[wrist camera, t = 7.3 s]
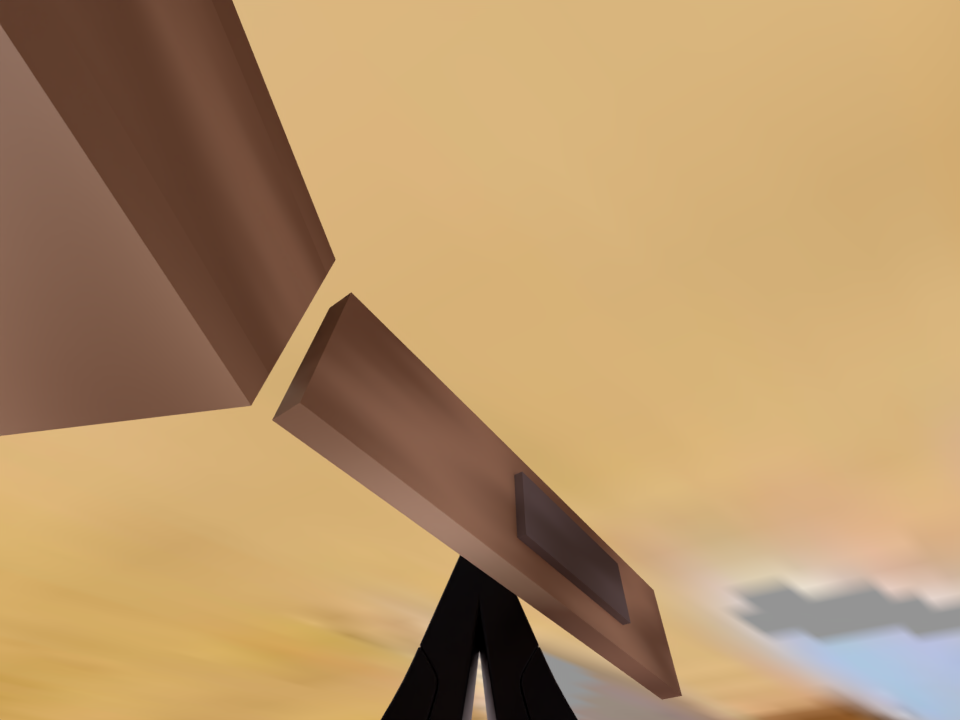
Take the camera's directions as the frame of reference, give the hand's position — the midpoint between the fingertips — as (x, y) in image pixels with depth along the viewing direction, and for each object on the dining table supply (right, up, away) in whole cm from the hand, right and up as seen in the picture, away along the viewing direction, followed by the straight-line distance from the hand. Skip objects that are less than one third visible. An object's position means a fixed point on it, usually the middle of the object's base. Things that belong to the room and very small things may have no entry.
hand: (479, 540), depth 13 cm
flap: (+2, +2, -1) cm, 2 cm away
